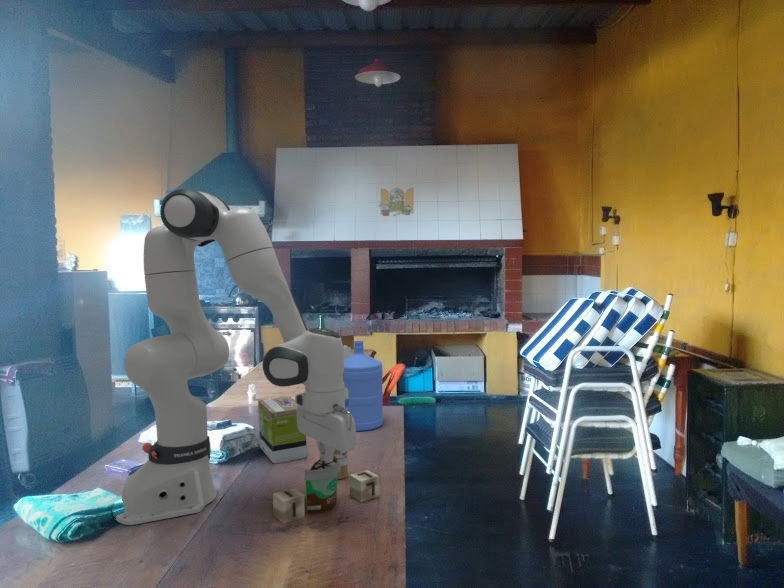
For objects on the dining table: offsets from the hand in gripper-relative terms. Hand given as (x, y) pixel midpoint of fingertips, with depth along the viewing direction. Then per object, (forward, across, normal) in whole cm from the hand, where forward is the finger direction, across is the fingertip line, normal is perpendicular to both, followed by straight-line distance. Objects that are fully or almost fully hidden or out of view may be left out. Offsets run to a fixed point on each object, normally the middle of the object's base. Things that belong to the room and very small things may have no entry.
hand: (326, 460), depth 131 cm
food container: (+10, 0, 0) cm, 10 cm away
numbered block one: (+10, 0, +10) cm, 14 cm away
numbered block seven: (+10, -1, -10) cm, 14 cm away
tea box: (+10, +38, -8) cm, 40 cm away
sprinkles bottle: (+10, +13, -11) cm, 20 cm away
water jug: (+10, +47, -41) cm, 63 cm away
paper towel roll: (+10, +78, -54) cm, 96 cm away
